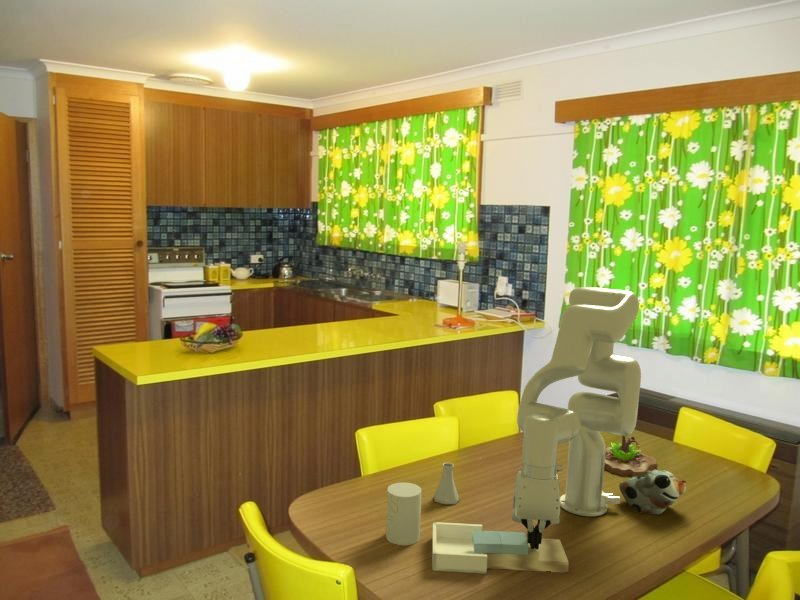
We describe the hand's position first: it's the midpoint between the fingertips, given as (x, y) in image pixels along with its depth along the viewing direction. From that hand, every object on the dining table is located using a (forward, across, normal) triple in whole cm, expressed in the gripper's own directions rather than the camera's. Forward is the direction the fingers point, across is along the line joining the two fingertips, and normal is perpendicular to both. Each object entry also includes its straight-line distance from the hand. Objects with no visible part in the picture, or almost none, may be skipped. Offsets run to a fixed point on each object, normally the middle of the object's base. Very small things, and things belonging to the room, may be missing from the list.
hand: (533, 546), depth 147 cm
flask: (+4, +19, -29) cm, 35 cm away
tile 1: (+1, +11, 0) cm, 11 cm away
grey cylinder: (+4, +30, -7) cm, 31 cm away
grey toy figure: (+3, -37, -31) cm, 49 cm away
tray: (+3, +17, 0) cm, 17 cm away
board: (+3, +2, 0) cm, 4 cm away
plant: (+4, -39, -62) cm, 73 cm away
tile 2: (+1, +5, 0) cm, 5 cm away
